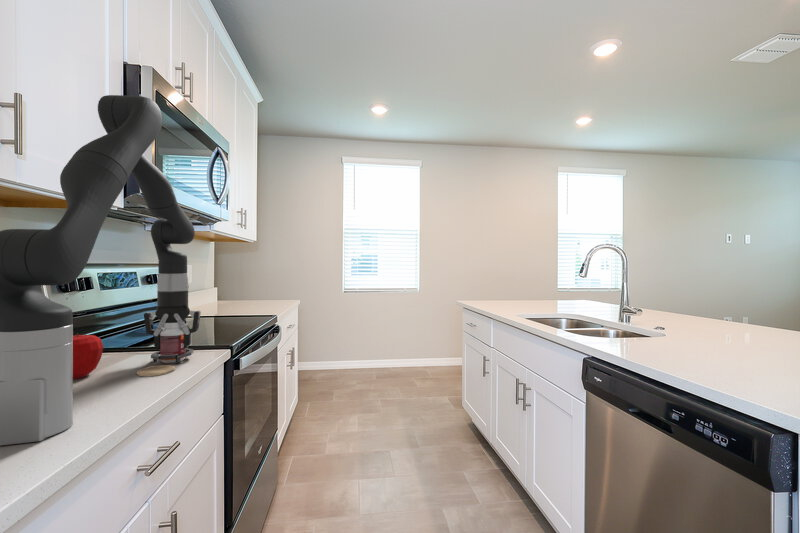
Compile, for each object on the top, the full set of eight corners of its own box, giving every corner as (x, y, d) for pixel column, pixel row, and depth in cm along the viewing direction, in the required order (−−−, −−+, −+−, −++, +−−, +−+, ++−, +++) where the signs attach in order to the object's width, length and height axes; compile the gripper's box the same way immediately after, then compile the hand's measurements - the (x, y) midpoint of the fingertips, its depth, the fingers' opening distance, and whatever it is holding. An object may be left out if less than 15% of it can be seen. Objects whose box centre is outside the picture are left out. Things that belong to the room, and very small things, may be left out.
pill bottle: (186, 361, 104) (186, 322, 104) (160, 364, 101) (160, 324, 101) (184, 356, 110) (184, 319, 109) (160, 359, 106) (159, 321, 106)
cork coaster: (169, 374, 92) (169, 372, 92) (132, 377, 89) (132, 375, 89) (178, 366, 99) (178, 364, 99) (143, 368, 97) (143, 366, 97)
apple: (113, 371, 94) (113, 329, 94) (74, 383, 85) (74, 336, 85) (80, 370, 96) (80, 328, 96) (38, 381, 86) (38, 335, 86)
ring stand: (188, 363, 102) (188, 355, 102) (147, 366, 99) (147, 357, 99) (195, 355, 111) (195, 347, 111) (158, 357, 108) (158, 349, 108)
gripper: (138, 290, 99) (138, 352, 99) (198, 289, 104) (198, 349, 104) (148, 288, 106) (148, 346, 107) (203, 288, 111) (203, 343, 111)
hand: (173, 347), depth 105 cm, fingers closed on pill bottle, 6 cm apart
